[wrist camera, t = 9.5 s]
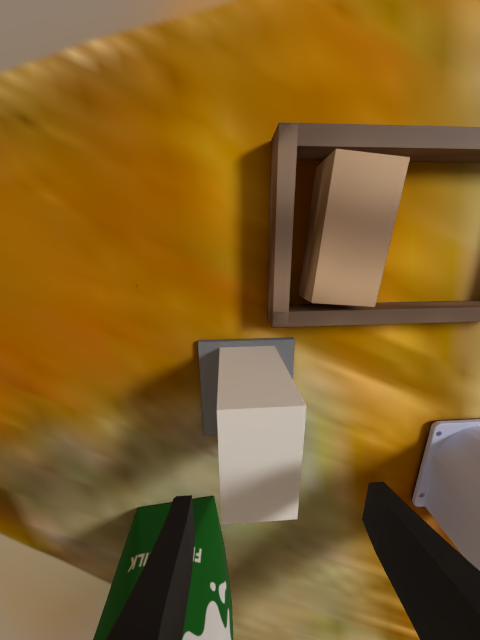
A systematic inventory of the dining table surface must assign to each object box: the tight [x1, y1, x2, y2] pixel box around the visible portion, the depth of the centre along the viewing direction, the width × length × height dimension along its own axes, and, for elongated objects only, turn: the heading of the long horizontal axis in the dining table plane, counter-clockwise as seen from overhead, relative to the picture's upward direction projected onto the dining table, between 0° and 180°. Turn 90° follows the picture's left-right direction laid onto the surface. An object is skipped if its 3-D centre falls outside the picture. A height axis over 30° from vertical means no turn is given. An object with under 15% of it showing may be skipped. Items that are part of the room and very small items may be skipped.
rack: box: [267, 123, 480, 327], centre depth 15 cm, size 11×18×2 cm, turn 91°
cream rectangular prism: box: [217, 346, 306, 525], centre depth 15 cm, size 7×4×7 cm, turn 1°
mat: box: [198, 337, 295, 435], centre depth 18 cm, size 8×7×1 cm
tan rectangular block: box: [298, 149, 410, 307], centre depth 15 cm, size 8×4×3 cm, turn 176°
